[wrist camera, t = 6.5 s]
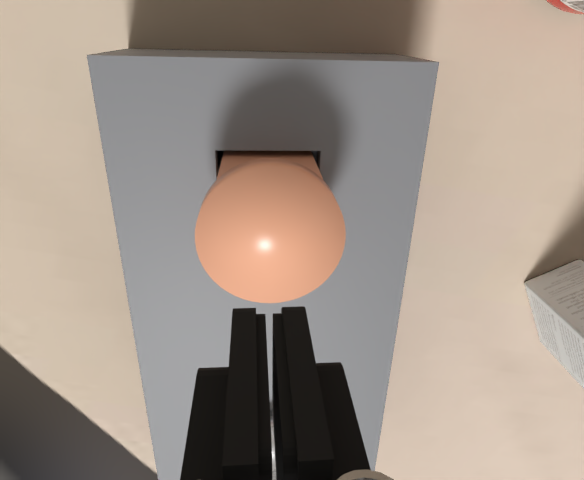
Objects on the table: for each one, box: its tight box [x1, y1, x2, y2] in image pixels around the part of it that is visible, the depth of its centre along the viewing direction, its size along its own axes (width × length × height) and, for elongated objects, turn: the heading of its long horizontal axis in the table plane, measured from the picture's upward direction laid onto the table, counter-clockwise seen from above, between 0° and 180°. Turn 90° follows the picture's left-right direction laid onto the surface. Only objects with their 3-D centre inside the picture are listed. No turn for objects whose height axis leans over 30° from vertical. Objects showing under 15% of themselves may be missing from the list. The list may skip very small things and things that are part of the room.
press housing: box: [87, 49, 439, 480], centre depth 26 cm, size 14×28×6 cm, turn 179°
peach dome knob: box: [195, 150, 346, 303], centre depth 19 cm, size 6×6×6 cm
